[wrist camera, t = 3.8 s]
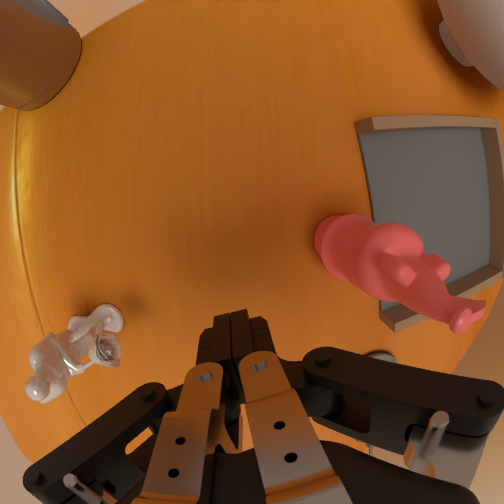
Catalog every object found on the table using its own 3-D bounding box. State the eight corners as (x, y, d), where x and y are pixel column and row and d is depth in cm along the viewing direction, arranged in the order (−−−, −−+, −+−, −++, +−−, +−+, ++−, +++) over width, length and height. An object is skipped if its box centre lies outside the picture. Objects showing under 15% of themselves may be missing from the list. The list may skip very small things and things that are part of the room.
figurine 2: (367, 208, 22) (517, 254, 7) (360, 267, 23) (484, 360, 9) (309, 204, 21) (445, 253, 7) (305, 267, 23) (406, 389, 8)
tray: (354, 123, 20) (371, 116, 17) (480, 120, 20) (498, 118, 18) (379, 318, 25) (394, 332, 22) (490, 268, 25) (506, 275, 22)
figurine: (58, 321, 22) (-8, 393, 10) (113, 270, 21) (34, 346, 10) (89, 356, 23) (39, 440, 12) (149, 313, 22) (101, 413, 11)
